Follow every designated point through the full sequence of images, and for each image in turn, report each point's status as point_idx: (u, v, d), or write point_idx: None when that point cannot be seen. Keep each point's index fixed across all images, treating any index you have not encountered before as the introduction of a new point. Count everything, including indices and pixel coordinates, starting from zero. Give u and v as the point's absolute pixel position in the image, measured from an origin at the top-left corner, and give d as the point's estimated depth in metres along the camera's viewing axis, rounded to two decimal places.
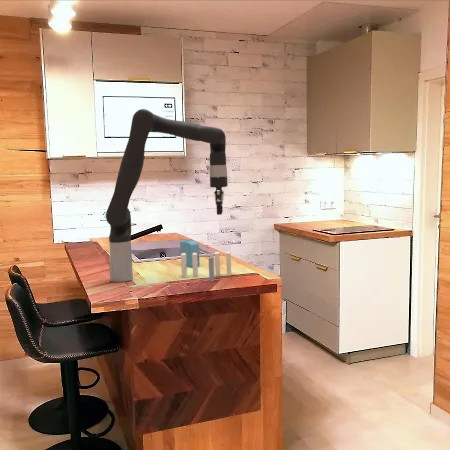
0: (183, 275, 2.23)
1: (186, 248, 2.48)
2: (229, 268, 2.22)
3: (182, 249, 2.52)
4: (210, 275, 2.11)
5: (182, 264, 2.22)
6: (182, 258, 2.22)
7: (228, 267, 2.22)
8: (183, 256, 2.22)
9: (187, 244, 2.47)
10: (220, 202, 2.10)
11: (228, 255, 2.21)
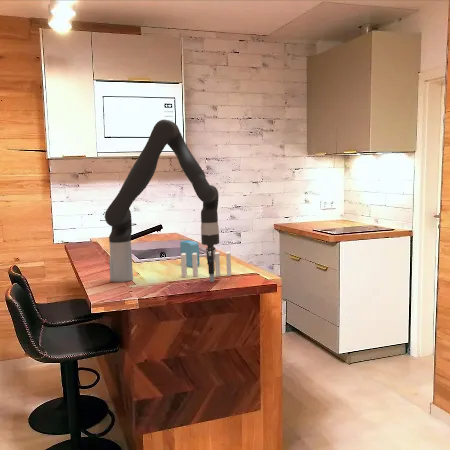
0: (183, 275, 2.23)
1: (186, 248, 2.48)
2: (229, 268, 2.22)
3: (182, 249, 2.52)
4: (210, 275, 2.11)
5: (182, 264, 2.22)
6: (182, 258, 2.22)
7: (228, 267, 2.22)
8: (183, 256, 2.22)
9: (187, 244, 2.47)
10: (212, 262, 2.08)
11: (228, 255, 2.21)
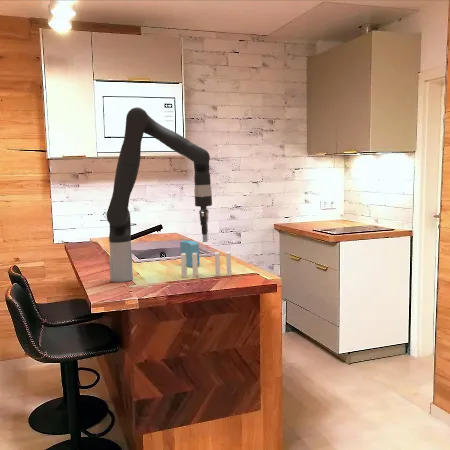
0: (183, 275, 2.23)
1: (186, 248, 2.48)
2: (229, 268, 2.22)
3: (182, 249, 2.52)
4: (203, 235, 2.21)
5: (182, 264, 2.22)
6: (182, 258, 2.22)
7: (228, 267, 2.22)
8: (183, 256, 2.22)
9: (187, 244, 2.47)
10: (205, 223, 2.17)
11: (228, 255, 2.21)
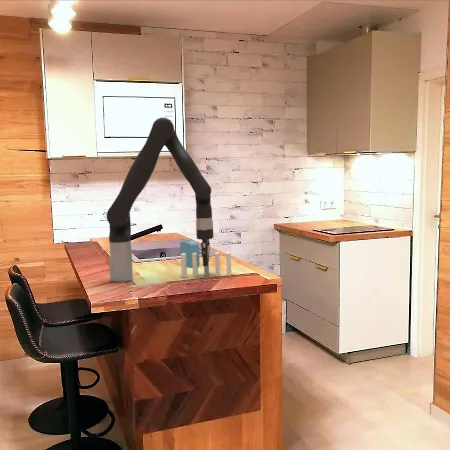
0: (183, 275, 2.23)
1: (186, 248, 2.48)
2: (229, 268, 2.22)
3: (182, 249, 2.52)
4: (205, 270, 2.22)
5: (182, 264, 2.22)
6: (182, 258, 2.22)
7: (228, 267, 2.22)
8: (183, 256, 2.22)
9: (187, 244, 2.47)
10: (206, 255, 2.17)
11: (228, 255, 2.21)
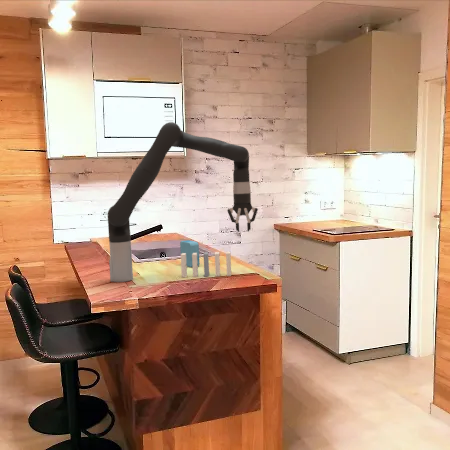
0: (183, 275, 2.23)
1: (186, 248, 2.48)
2: (229, 268, 2.22)
3: (182, 249, 2.52)
4: (205, 270, 2.22)
5: (182, 264, 2.22)
6: (182, 258, 2.22)
7: (228, 267, 2.22)
8: (183, 256, 2.22)
9: (187, 244, 2.47)
10: None
11: (228, 255, 2.21)
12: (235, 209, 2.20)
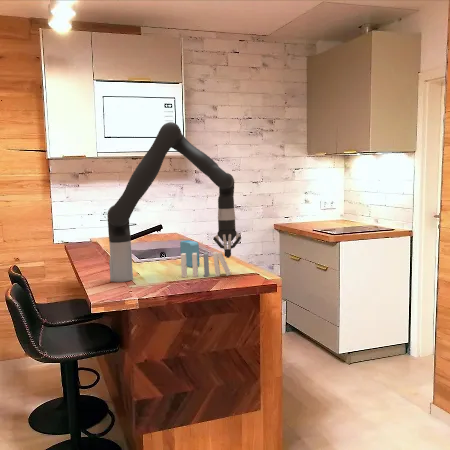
0: (183, 275, 2.23)
1: (186, 248, 2.48)
2: (226, 268, 2.22)
3: (182, 249, 2.52)
4: (205, 270, 2.22)
5: (182, 264, 2.22)
6: (182, 258, 2.22)
7: (225, 267, 2.22)
8: (183, 256, 2.22)
9: (187, 244, 2.47)
10: None
11: (220, 256, 2.21)
12: (220, 235, 2.22)
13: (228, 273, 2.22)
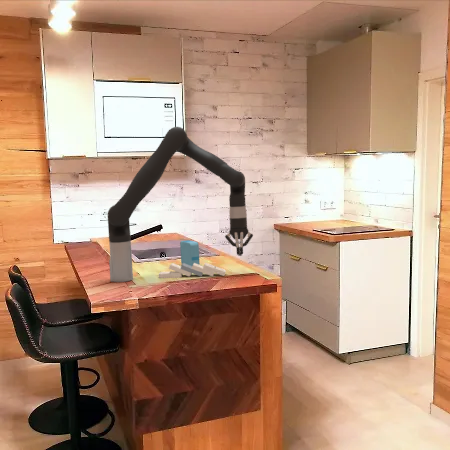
0: (179, 275, 2.23)
1: (186, 248, 2.48)
2: (218, 271, 2.22)
3: (182, 249, 2.52)
4: (196, 273, 2.23)
5: (168, 276, 2.23)
6: (162, 276, 2.23)
7: (216, 271, 2.22)
8: (160, 275, 2.23)
9: (187, 244, 2.47)
10: None
11: (205, 267, 2.22)
12: (232, 233, 2.22)
13: (223, 273, 2.22)
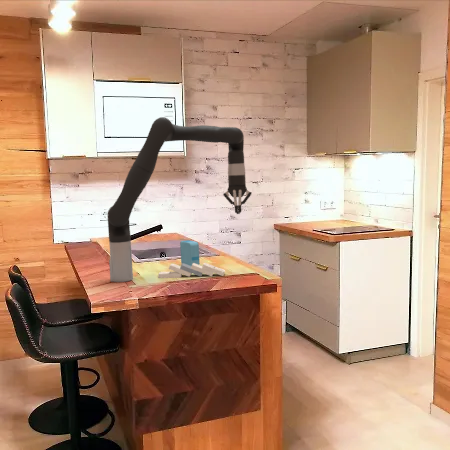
0: (178, 275, 2.23)
1: (186, 248, 2.48)
2: (217, 271, 2.22)
3: (182, 249, 2.52)
4: (195, 273, 2.23)
5: (167, 276, 2.23)
6: (161, 276, 2.23)
7: (215, 271, 2.22)
8: (159, 275, 2.23)
9: (187, 244, 2.47)
10: None
11: (204, 266, 2.22)
12: (230, 191, 2.20)
13: (222, 273, 2.22)
